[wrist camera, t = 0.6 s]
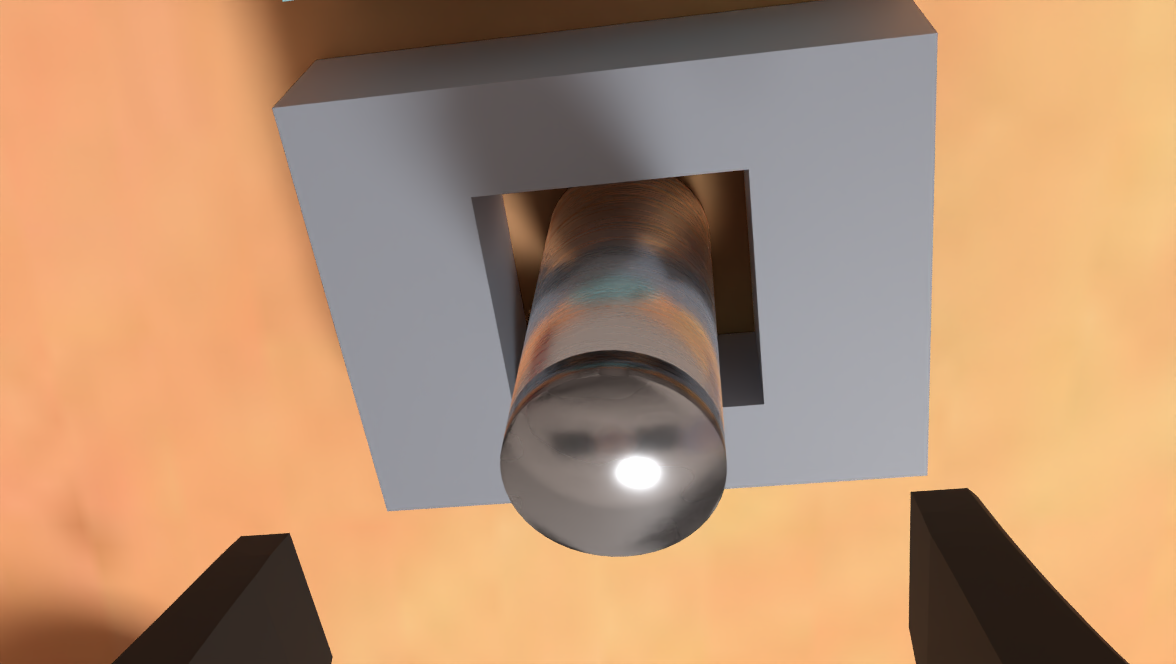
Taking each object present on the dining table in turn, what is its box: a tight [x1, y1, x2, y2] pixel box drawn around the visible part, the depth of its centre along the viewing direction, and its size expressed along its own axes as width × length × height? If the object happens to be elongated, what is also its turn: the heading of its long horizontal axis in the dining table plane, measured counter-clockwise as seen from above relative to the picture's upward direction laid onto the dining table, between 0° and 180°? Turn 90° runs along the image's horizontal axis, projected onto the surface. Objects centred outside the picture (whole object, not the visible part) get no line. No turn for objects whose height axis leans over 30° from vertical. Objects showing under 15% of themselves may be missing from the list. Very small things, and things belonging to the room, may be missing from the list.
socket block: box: [272, 0, 938, 511], centre depth 20 cm, size 10×8×2 cm
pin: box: [500, 177, 727, 557], centre depth 18 cm, size 3×3×7 cm
